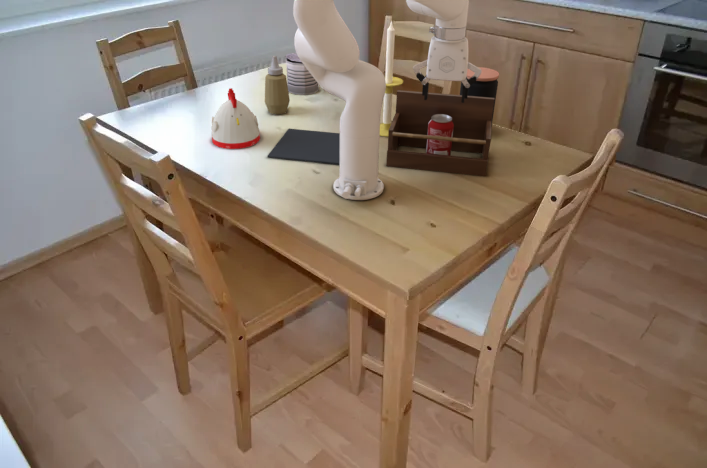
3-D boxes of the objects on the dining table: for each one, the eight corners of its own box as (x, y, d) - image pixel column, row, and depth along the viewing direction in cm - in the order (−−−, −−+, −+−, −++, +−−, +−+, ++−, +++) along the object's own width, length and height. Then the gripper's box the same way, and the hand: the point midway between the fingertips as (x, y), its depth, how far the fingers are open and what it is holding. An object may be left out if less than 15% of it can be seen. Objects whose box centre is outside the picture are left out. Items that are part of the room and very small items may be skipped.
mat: (352, 166, 157) (352, 164, 157) (267, 157, 161) (267, 155, 161) (366, 137, 174) (366, 135, 173) (288, 130, 178) (288, 128, 177)
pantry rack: (485, 176, 153) (494, 118, 145) (386, 166, 158) (388, 109, 149) (486, 152, 166) (494, 97, 157) (394, 143, 170) (397, 90, 162)
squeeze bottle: (295, 110, 192) (292, 55, 182) (279, 118, 186) (276, 61, 176) (276, 105, 195) (272, 51, 186) (260, 113, 189) (255, 57, 180)
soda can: (449, 165, 159) (453, 123, 152) (424, 162, 160) (427, 121, 153) (450, 155, 164) (455, 114, 158) (426, 152, 165) (430, 112, 159)
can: (290, 83, 214) (288, 50, 208) (321, 85, 214) (320, 52, 207) (284, 94, 205) (282, 60, 198) (316, 95, 204) (315, 61, 198)
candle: (408, 134, 176) (415, 22, 159) (377, 138, 173) (381, 25, 156) (395, 122, 184) (400, 14, 167) (365, 126, 181) (368, 17, 164)
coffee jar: (497, 130, 180) (506, 72, 170) (478, 140, 173) (486, 80, 163) (468, 121, 186) (475, 64, 176) (448, 130, 179) (455, 72, 169)
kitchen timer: (217, 151, 164) (210, 100, 156) (208, 133, 175) (201, 84, 167) (265, 144, 168) (261, 94, 160) (253, 127, 179) (249, 79, 171)
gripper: (413, 34, 142) (409, 102, 151) (485, 38, 139) (477, 107, 149) (416, 27, 148) (413, 92, 158) (486, 30, 145) (478, 97, 155)
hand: (444, 99), depth 153 cm, fingers open, 9 cm apart
